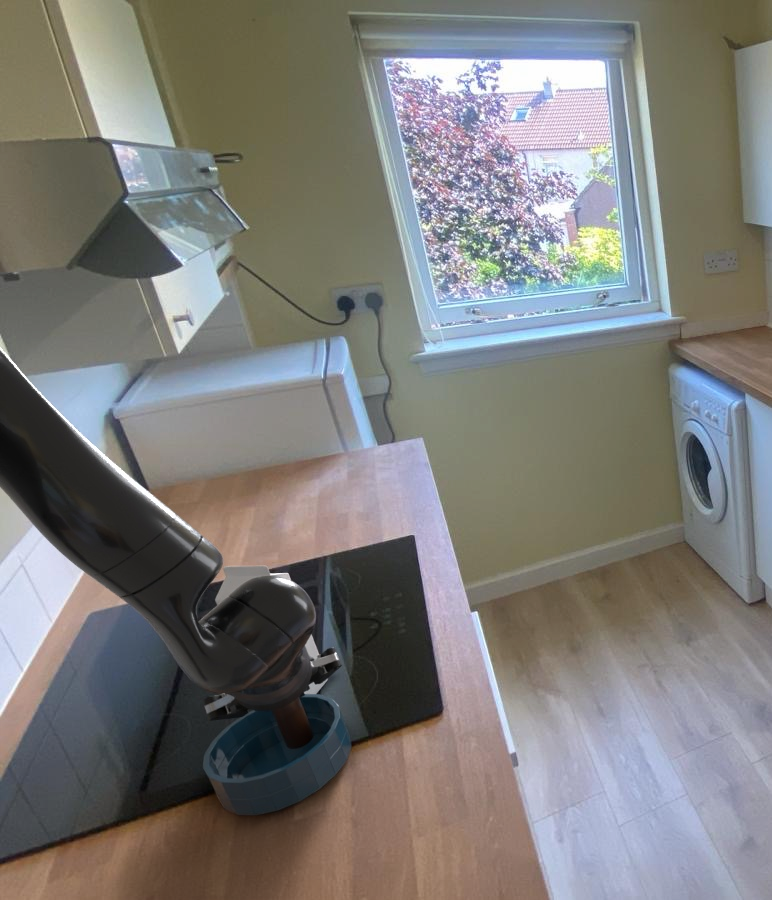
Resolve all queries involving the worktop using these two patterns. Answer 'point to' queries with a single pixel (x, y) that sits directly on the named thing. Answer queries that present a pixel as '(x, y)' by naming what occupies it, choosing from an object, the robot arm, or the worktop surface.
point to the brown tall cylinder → (293, 724)
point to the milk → (245, 573)
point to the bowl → (276, 759)
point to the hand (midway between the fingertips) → (282, 696)
